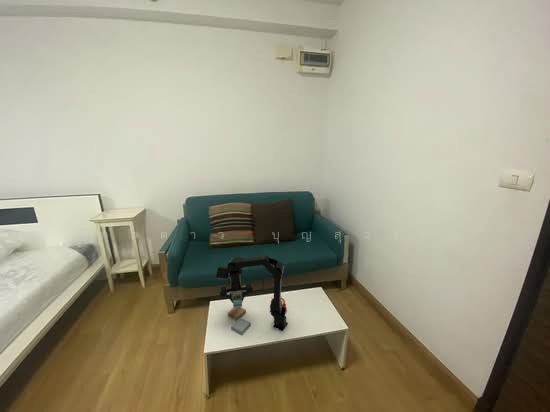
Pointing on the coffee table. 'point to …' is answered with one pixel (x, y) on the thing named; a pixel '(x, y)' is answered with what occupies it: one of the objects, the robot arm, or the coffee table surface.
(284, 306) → the alarm clock
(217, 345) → the coffee table surface
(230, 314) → the stand
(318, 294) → the coffee table surface
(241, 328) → the stand
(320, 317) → the coffee table surface
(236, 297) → the housing
